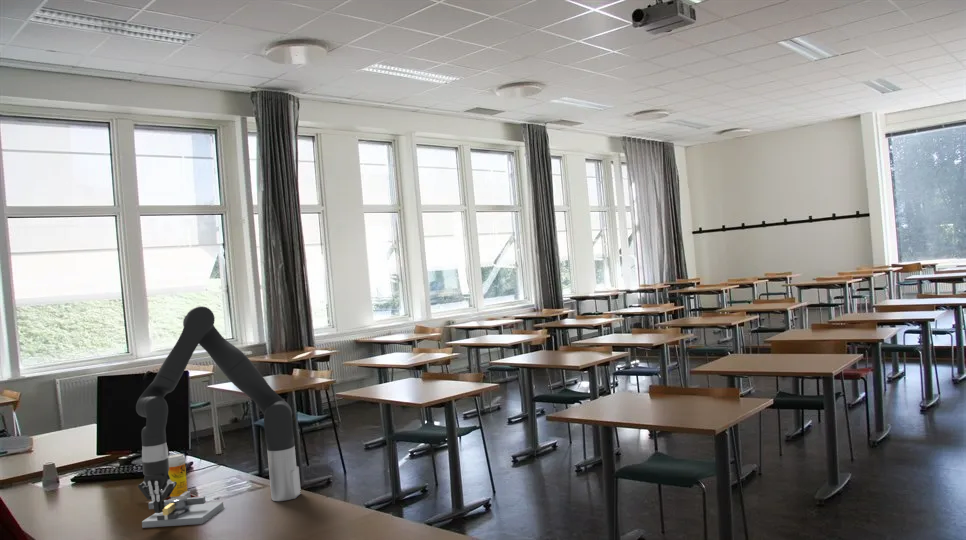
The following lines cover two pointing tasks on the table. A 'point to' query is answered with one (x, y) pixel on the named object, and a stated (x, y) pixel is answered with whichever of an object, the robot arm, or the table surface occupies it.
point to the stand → (184, 516)
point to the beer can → (177, 474)
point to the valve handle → (179, 503)
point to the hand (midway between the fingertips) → (159, 512)
